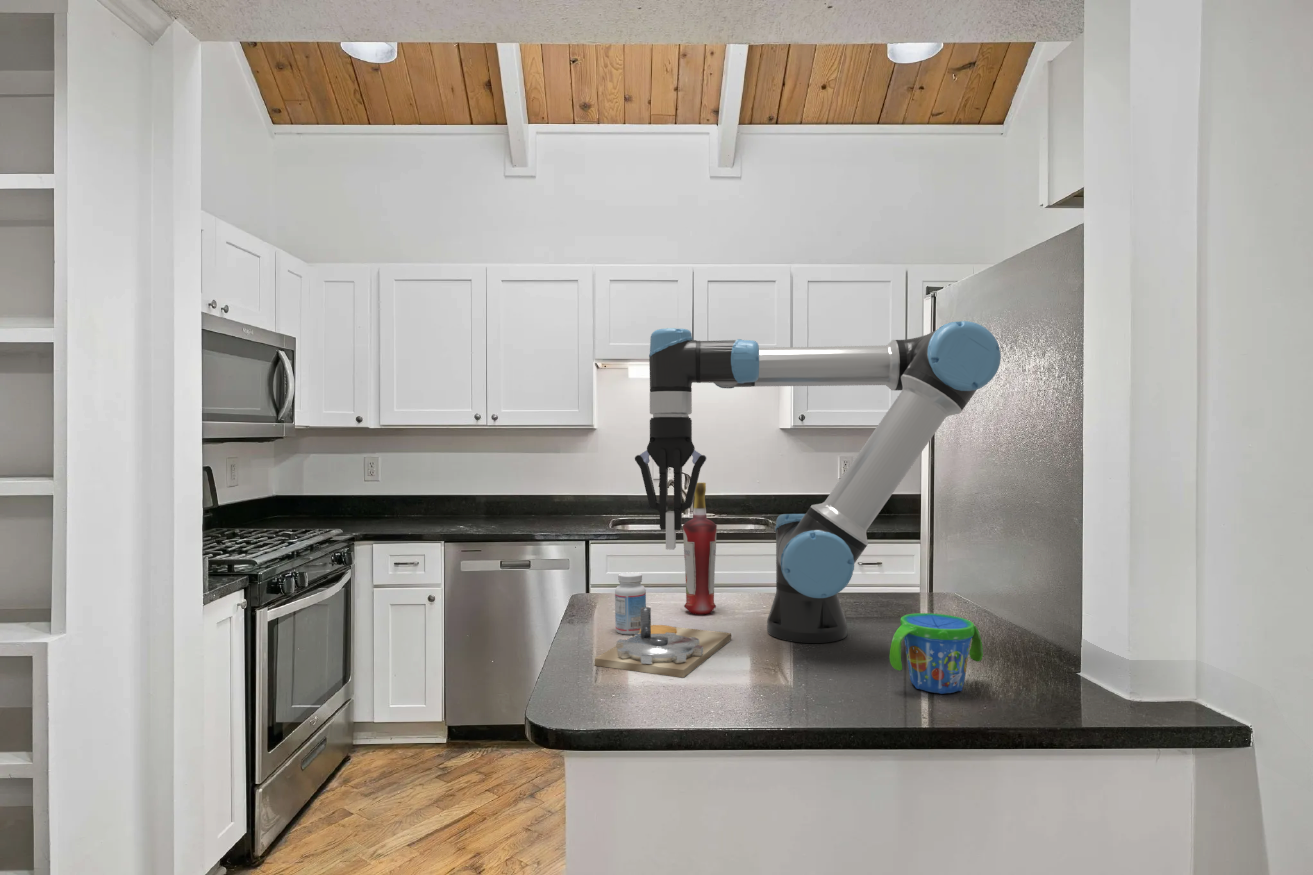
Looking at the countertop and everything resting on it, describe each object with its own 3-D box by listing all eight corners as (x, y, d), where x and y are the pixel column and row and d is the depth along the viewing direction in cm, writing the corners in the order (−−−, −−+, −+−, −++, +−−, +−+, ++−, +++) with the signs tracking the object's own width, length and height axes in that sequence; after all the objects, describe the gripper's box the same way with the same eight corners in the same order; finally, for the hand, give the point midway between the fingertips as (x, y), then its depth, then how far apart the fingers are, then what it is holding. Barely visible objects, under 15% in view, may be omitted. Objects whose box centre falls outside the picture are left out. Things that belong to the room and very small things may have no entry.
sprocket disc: (720, 656, 126) (719, 618, 126) (640, 670, 119) (640, 629, 119) (675, 635, 139) (675, 600, 139) (601, 646, 132) (601, 610, 132)
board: (731, 639, 141) (731, 633, 141) (683, 677, 119) (683, 670, 119) (653, 630, 148) (653, 624, 148) (594, 665, 126) (594, 658, 126)
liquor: (680, 608, 166) (680, 481, 166) (713, 607, 167) (713, 481, 167) (685, 616, 159) (685, 484, 159) (720, 615, 160) (719, 483, 160)
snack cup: (960, 672, 121) (960, 609, 121) (1004, 694, 111) (1004, 625, 111) (872, 680, 118) (872, 615, 118) (909, 703, 107) (909, 632, 107)
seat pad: (682, 629, 144) (682, 627, 144) (667, 638, 138) (667, 636, 138) (649, 625, 147) (649, 623, 147) (633, 634, 141) (633, 632, 141)
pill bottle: (647, 627, 150) (647, 571, 150) (644, 635, 144) (643, 577, 144) (617, 626, 151) (617, 570, 151) (612, 635, 145) (612, 576, 145)
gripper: (708, 416, 137) (708, 545, 137) (637, 416, 139) (638, 544, 139) (705, 415, 130) (705, 552, 130) (631, 416, 132) (631, 550, 132)
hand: (670, 548), depth 135 cm, fingers closed
